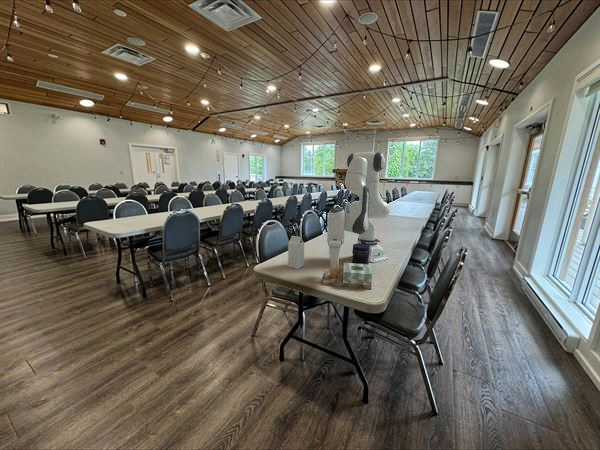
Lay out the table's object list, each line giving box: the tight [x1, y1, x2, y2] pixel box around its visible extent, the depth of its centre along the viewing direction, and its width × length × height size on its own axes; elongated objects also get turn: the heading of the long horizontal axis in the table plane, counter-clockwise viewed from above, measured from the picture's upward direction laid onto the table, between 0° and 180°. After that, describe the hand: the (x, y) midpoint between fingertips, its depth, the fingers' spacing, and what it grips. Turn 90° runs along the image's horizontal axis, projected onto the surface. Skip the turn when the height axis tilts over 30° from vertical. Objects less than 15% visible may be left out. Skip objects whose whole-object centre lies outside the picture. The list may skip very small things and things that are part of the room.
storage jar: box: [351, 242, 370, 265], centre depth 147 cm, size 10×10×15 cm
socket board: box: [322, 262, 373, 290], centre depth 132 cm, size 24×16×8 cm, turn 79°
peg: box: [329, 255, 340, 278], centre depth 133 cm, size 4×4×14 cm
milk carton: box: [287, 235, 305, 270], centre depth 151 cm, size 7×7×19 cm
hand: (334, 264), depth 133 cm, fingers open, 8 cm apart
